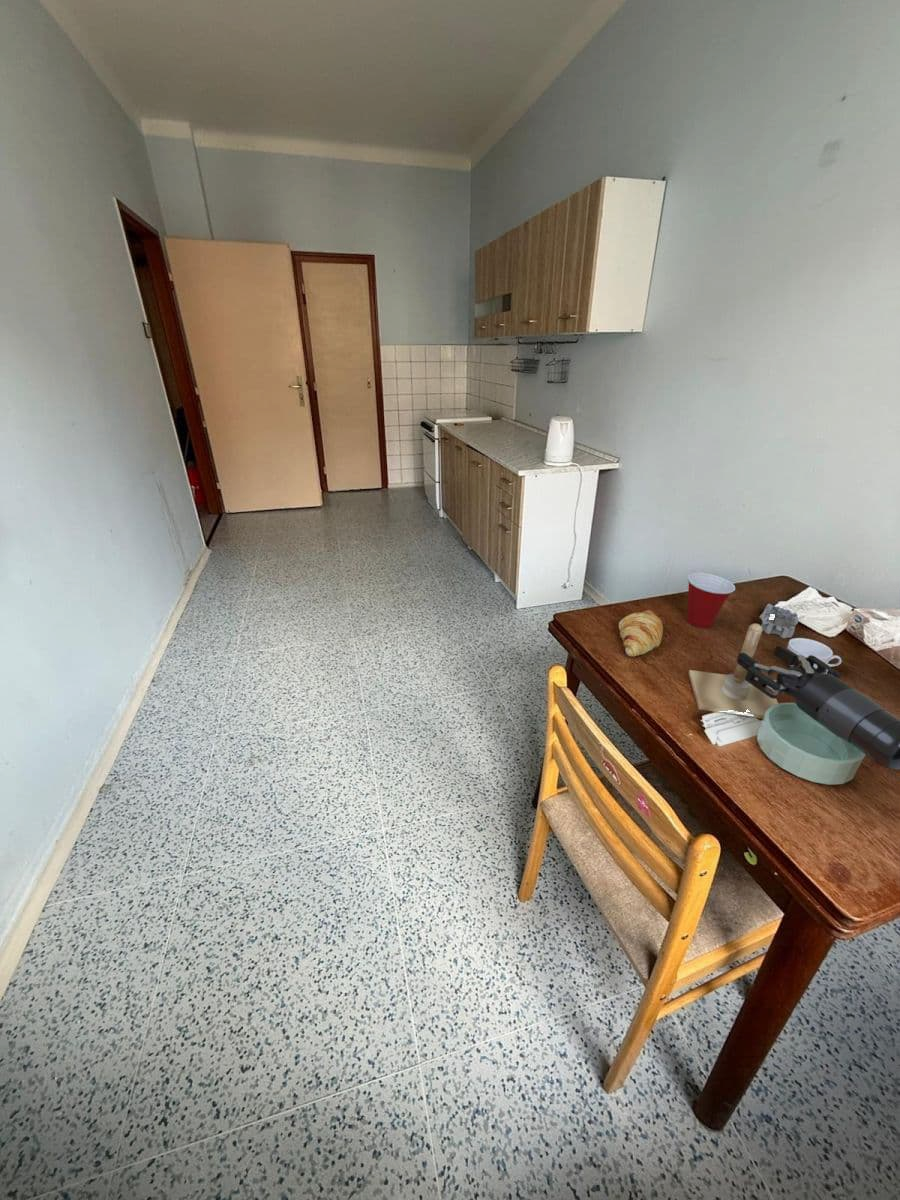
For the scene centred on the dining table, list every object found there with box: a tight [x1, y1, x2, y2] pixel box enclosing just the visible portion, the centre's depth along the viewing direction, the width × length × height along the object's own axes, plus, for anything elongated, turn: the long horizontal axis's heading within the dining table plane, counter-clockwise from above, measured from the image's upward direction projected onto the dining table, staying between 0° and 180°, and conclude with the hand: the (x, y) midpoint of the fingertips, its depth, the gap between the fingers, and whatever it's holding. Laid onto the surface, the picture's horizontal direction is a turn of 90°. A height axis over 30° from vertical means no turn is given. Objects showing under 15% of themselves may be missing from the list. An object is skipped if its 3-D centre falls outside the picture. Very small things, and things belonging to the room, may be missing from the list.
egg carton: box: [760, 603, 800, 639], centre depth 118 cm, size 11×8×4 cm
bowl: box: [756, 702, 867, 786], centre depth 81 cm, size 14×14×6 cm
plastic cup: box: [686, 572, 736, 629], centre depth 119 cm, size 11×11×12 cm
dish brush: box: [722, 623, 763, 700], centre depth 92 cm, size 5×5×16 cm
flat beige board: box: [688, 669, 779, 720], centre depth 96 cm, size 15×12×1 cm
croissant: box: [618, 609, 664, 658], centre depth 114 cm, size 21×10×8 cm, turn 150°
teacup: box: [786, 637, 842, 669], centre depth 102 cm, size 10×8×5 cm
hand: (758, 653), depth 89 cm, fingers open, 8 cm apart
